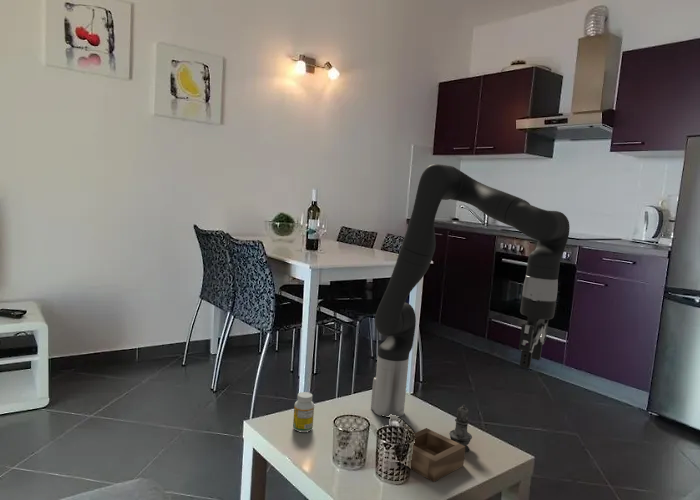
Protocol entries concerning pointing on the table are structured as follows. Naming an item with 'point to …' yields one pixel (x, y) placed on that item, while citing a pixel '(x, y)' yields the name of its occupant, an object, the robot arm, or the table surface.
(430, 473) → the walnut holder
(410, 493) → the table surface
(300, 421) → the supplement bottle
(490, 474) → the table surface
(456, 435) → the dark grey chess piece
